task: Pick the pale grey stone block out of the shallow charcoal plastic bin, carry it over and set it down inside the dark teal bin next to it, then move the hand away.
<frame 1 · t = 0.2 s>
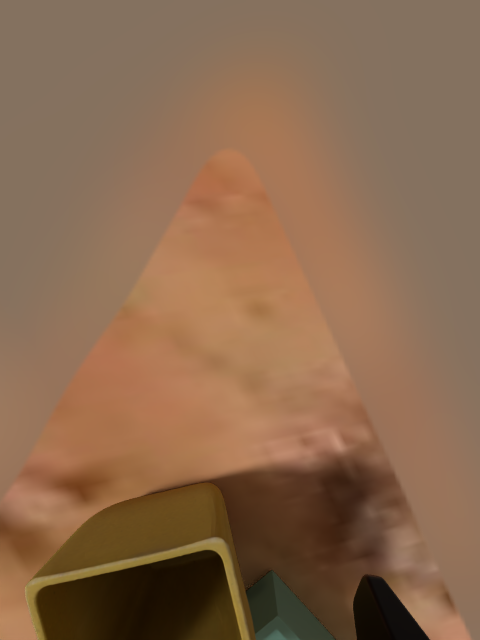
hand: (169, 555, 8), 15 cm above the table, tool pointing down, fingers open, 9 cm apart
flower pot: (180, 521, 25), on the table
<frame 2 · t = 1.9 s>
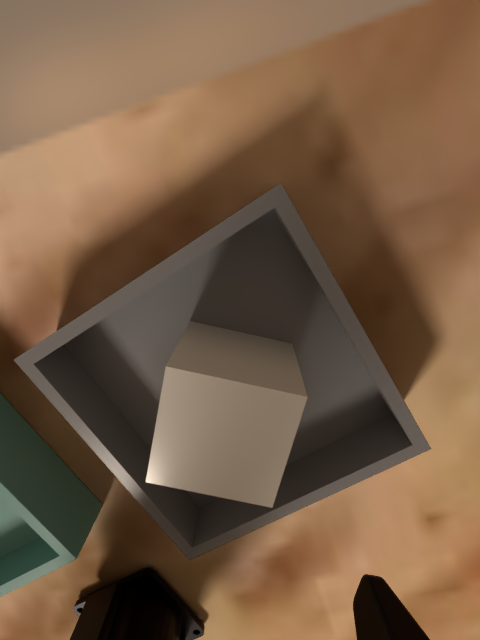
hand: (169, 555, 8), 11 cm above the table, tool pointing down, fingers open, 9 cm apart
charcoal bin: (231, 369, 19), on the table
stone block: (230, 378, 18), point 1 cm above the table, touching charcoal bin
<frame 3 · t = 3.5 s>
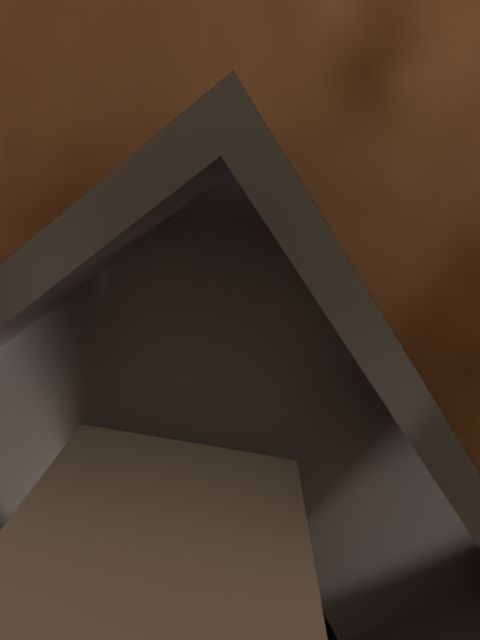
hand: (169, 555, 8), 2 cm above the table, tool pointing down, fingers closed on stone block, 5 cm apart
charcoal bin: (184, 494, 10), on the table
stone block: (176, 525, 9), point 1 cm above the table, touching charcoal bin, gripper
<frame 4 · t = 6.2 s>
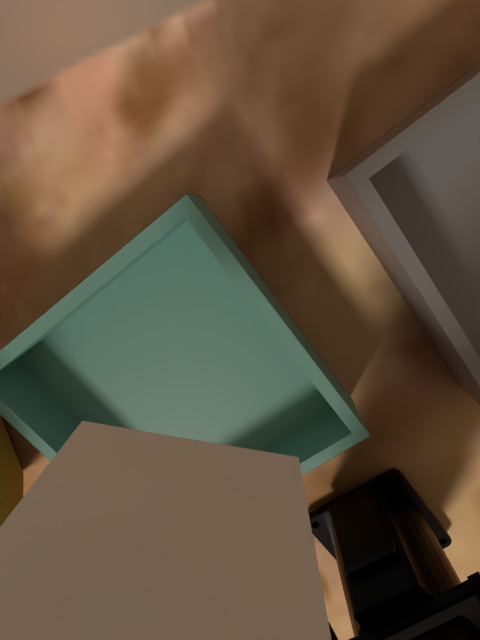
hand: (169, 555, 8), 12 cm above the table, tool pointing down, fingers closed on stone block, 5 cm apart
teal bin: (182, 373, 20), on the table
stone block: (178, 522, 9), point 11 cm above the table, touching gripper
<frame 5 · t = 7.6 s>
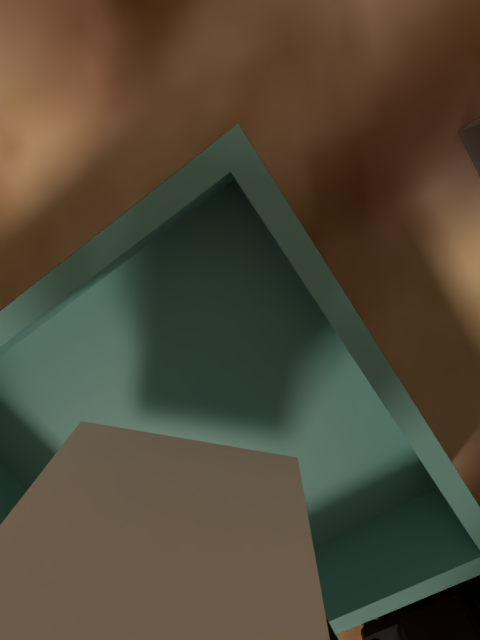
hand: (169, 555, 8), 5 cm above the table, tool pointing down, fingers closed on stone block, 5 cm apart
teal bin: (197, 427, 13), on the table
stone block: (177, 523, 9), point 4 cm above the table, touching gripper
when the fingers open (3 cm above the table, at t = 8.7 s): stone block drops 1 cm, resting on teal bin.
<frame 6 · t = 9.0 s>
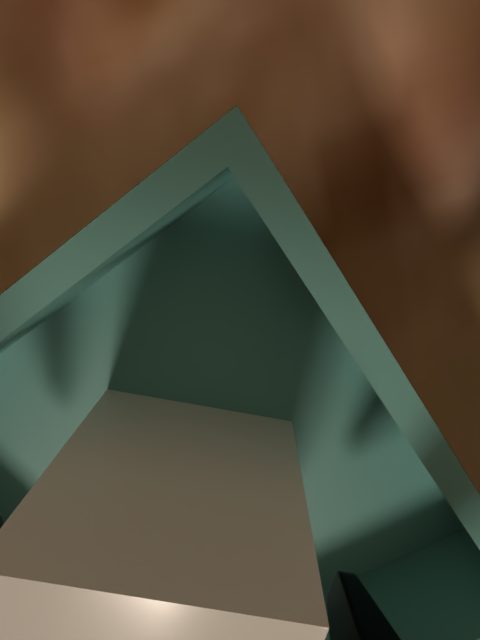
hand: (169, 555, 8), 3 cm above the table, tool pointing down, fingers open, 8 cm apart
teal bin: (191, 458, 12), on the table
stone block: (187, 480, 11), point 1 cm above the table, touching teal bin
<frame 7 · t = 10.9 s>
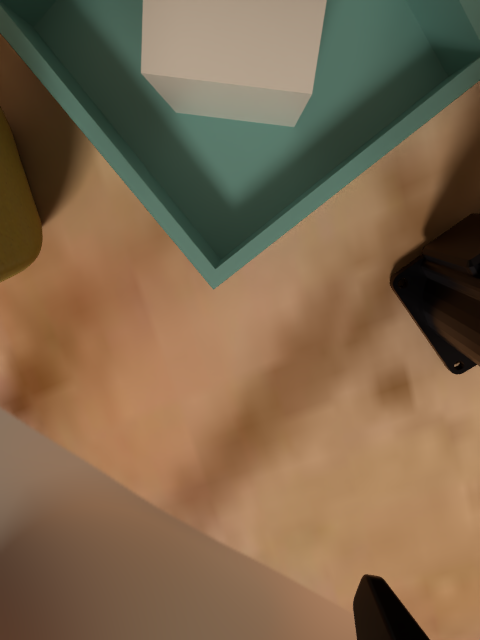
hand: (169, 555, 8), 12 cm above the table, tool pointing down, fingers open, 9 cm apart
teal bin: (241, 61, 16), on the table
stone block: (242, 50, 15), point 1 cm above the table, touching teal bin
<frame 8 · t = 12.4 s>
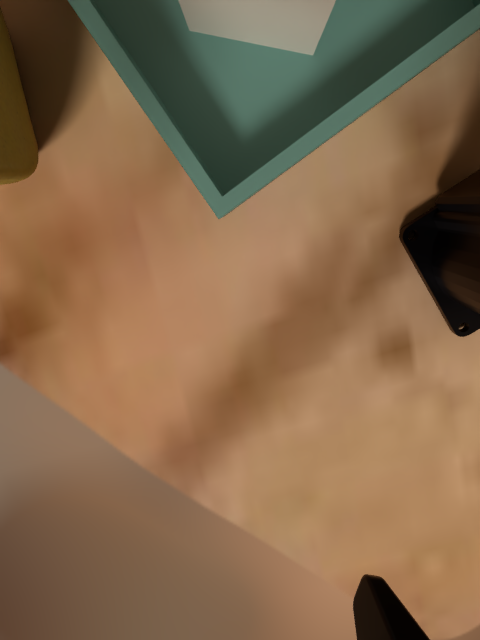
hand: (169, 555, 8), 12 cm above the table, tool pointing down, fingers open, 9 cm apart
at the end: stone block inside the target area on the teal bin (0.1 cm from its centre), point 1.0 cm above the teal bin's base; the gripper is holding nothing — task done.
